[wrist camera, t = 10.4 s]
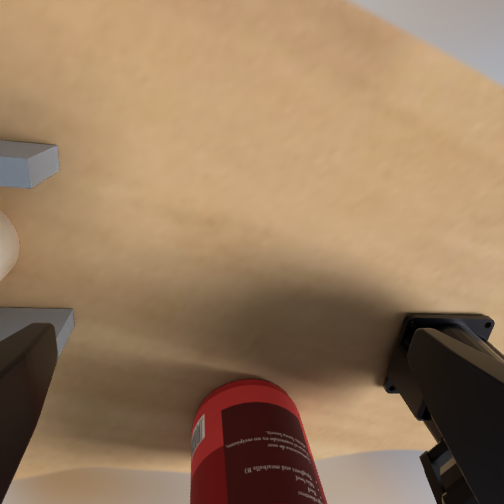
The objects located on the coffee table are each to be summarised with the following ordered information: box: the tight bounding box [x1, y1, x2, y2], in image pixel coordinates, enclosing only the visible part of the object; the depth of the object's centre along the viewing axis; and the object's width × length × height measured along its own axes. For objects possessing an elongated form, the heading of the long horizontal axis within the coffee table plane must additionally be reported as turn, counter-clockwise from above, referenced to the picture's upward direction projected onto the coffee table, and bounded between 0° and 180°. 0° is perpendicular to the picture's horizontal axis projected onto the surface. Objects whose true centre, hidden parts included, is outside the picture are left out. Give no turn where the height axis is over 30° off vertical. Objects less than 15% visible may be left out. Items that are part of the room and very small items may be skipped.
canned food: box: [190, 379, 327, 504], centre depth 22 cm, size 8×8×11 cm
